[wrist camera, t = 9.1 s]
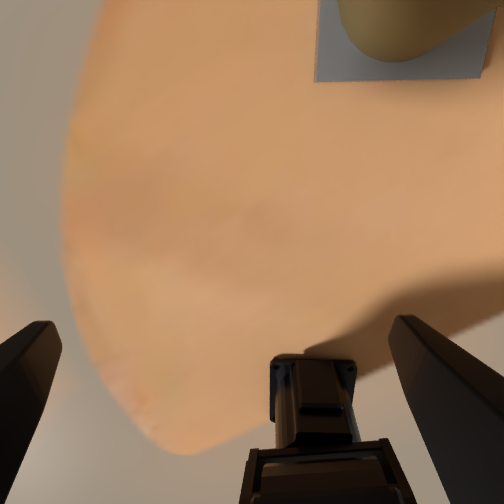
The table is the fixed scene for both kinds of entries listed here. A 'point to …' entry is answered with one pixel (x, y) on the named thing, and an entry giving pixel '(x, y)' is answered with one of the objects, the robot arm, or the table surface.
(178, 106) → the table surface
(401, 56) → the cork
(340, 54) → the coaster
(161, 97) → the table surface
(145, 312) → the table surface
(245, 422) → the table surface
